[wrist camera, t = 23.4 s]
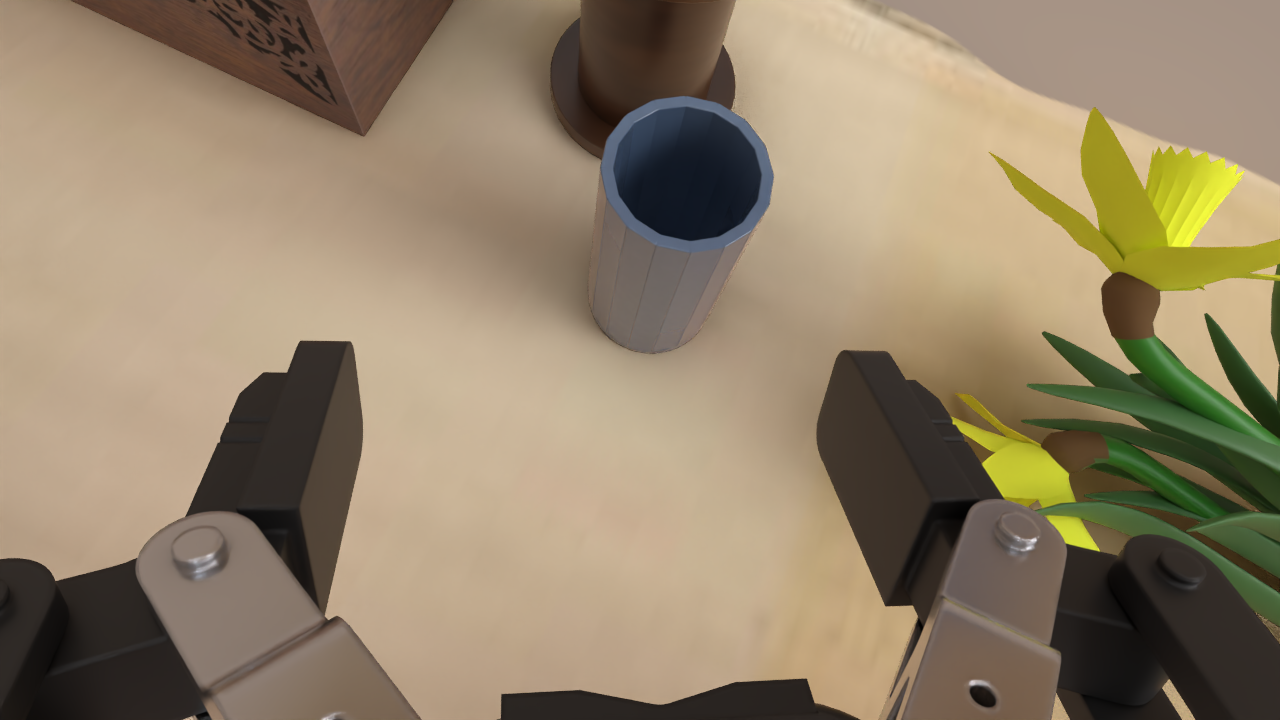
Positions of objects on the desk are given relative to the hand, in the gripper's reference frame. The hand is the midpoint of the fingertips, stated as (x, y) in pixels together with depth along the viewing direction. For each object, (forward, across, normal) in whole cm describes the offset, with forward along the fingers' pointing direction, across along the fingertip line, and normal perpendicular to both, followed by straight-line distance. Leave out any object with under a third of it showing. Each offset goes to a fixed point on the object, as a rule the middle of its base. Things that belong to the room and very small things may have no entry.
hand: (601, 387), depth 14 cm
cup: (+23, -5, +12) cm, 26 cm away
